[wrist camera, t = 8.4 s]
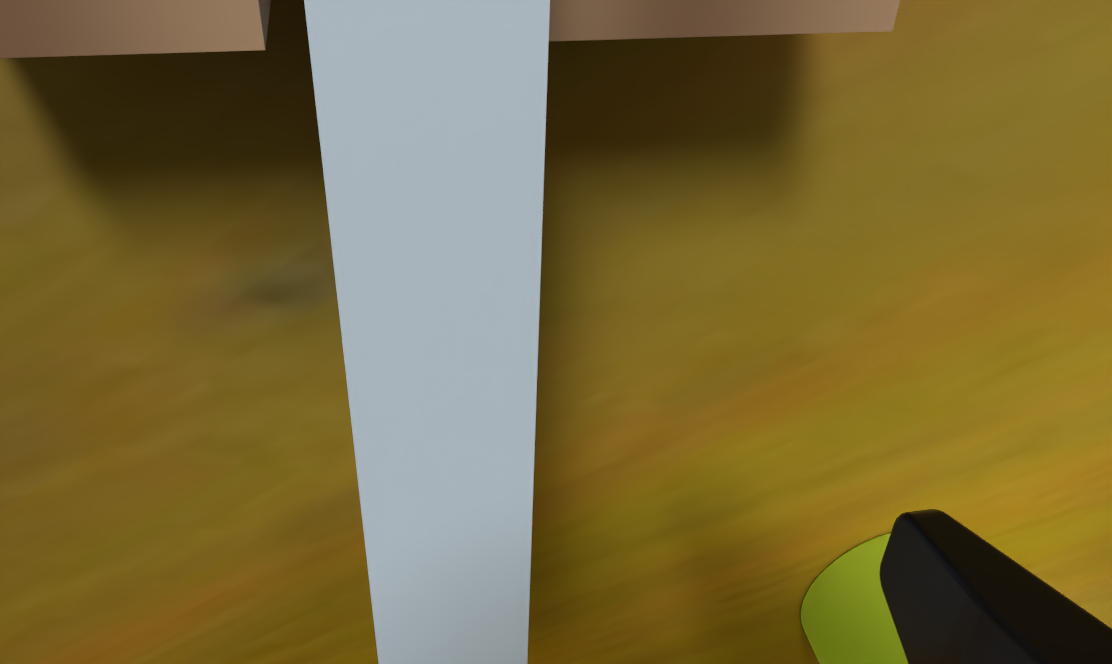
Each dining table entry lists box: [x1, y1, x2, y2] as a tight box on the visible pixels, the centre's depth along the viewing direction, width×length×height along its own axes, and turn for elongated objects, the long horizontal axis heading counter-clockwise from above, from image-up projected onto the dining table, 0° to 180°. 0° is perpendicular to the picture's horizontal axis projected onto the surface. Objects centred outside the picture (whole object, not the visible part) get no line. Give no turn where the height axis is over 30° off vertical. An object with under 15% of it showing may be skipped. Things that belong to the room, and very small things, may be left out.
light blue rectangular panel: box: [304, 0, 550, 664], centre depth 15 cm, size 14×2×9 cm, turn 178°
